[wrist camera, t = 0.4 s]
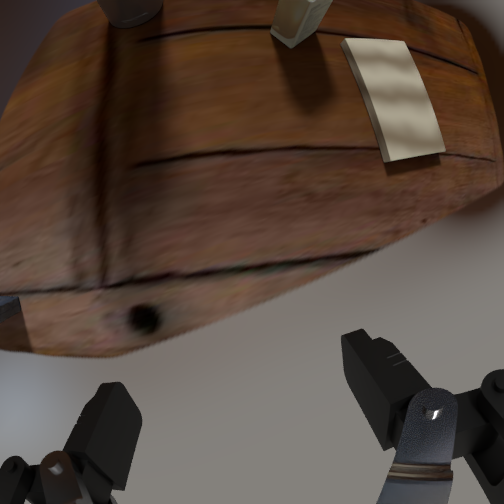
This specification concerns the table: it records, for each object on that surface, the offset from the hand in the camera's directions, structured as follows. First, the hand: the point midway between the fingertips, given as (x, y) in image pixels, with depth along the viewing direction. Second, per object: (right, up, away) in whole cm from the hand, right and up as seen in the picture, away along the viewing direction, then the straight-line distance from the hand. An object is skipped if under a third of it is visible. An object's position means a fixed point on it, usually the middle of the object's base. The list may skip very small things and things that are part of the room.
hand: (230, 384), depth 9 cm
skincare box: (+7, +37, +24) cm, 45 cm away
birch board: (+23, +29, +26) cm, 45 cm away
